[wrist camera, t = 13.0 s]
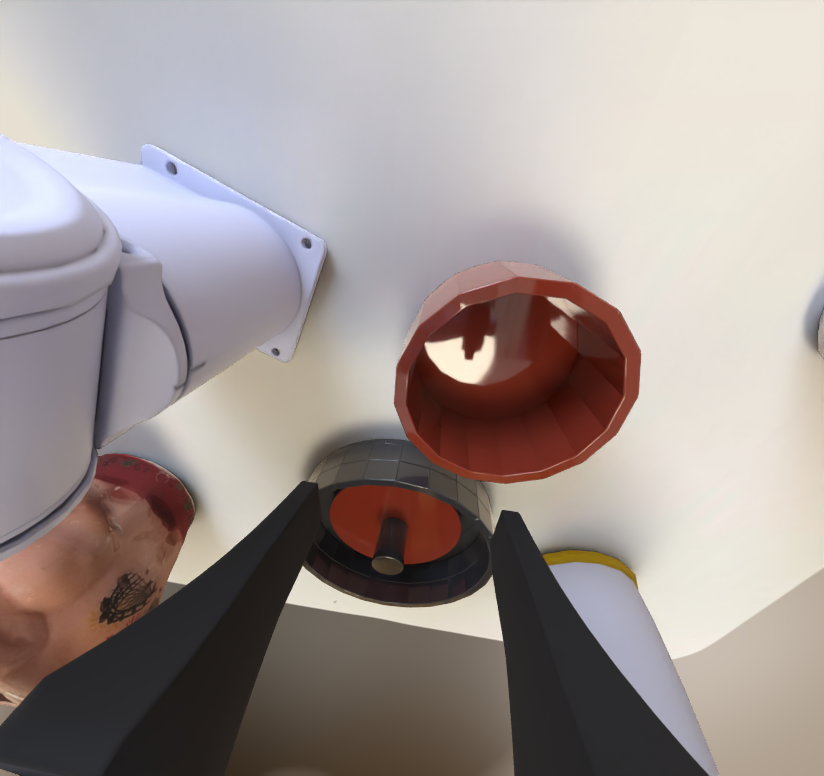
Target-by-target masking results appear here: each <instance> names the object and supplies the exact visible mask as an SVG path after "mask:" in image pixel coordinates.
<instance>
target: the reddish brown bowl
mask: <svg viewBox="0 0 824 776" xmlns="http://www.w3.org/2000/svg"><path fill="white" fill-rule="evenodd" d="M640 365H641V350H640V348H639V346H638V345H637V343H636V341H635V339H634V337H633V335H632V333H631V331H630V329H629V327H628V325H627V323H626V321H625V320H624V318H623V316H622V314H621V312H620V311H619V310H618V309H617V308H615V307H614V306H612V305H611V304H609V303H607V302H606V301H604V300H603V299H601V298H599V297H598V296H596V295H595V294H593V293H591V292H590V291H588V290H587V289H585V288H583V287H582V286H580V285H579V284H577V283H575V282H573V281H571V280H569V279H567V278H564V277H562V276H560V275H558V274H556V273H554V272H552V271H550V270H547V269H545V268H543V267H541V266H538V265H534V264H525V263H520V262H507V261H494V262H491V263H486V264H482V265H477V266H474V267H472V268H469V269H466V270H464V271H462V272H458V273H457V274H455V275H454V276H453V277H451V278H449V279H448V280H447V281H445V282H444V283H443V284H441V285H440V286H439V287H438V288H437V289H436V290H435V291H434V292H433V293H432V294H431V295H429V296H428V297H427V298H426V299H425V301H424V303H423V305H422V307H421V308H420V310H419V311H418V313H417V315H416V318H415V320H414V321H413V323H412V325H411V327H410V329H409V332H408V334H407V337H406V340H405V343H404V346H403V349H402V352H401V355H400V357H399V360H398V363H397V366H396V380H395V395H394V406H395V408H396V411H397V413H398V416H399V418H400V421H401V423H402V426H403V428H404V431H405V433H406V436H407V437H408V439H409V440H410V441H411V442H412V443H413V444H414V445H415V446H416V447H417V448H418V449H419V450H420V451H421V452H422V453H423V454H424V455H425V456H426V457H427V458H428V459H429V460H430V461H431V462H433V464H436V465H438V466H440V467H442V468H444V469H446V470H448V471H451V472H453V473H455V474H457V475H459V476H461V477H463V478H467V479H473V480H480V481H487V482H494V483H502V484H503V483H504V484H508V483H516V482H523V481H531V480H538V479H544V478H547V477H550V476H552V475H555V474H557V473H559V472H562V471H564V470H566V469H569V468H571V467H573V466H576V465H578V464H581V463H583V461H586V460H587V459H588V458H589V457H590V456H592V455H593V454H594V453H595V452H596V451H598V450H599V449H600V448H601V447H602V446H603V445H605V444H606V443H607V442H608V441H609V440H611V439H612V438H613V437H614V436H615V435H616V433H618V431H619V430H620V428H621V426H622V424H623V423H624V421H625V419H626V417H627V416H628V414H629V412H630V410H631V409H632V407H633V405H634V403H635V401H636V400H637V398H638V395H639V381H640Z"/></svg>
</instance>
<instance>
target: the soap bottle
mask: <svg viewBox="0 0 824 776" xmlns="http://www.w3.org/2000/svg"><path fill="white" fill-rule="evenodd" d="M542 556H543V558H544V560H545V561H546V563H547V565H548V566H549V568H550V570H551V571H552V573H553V575H554V576H555V578H556V580H557V581H558V583H559V585H560V586H561V588H562V589H563V591H564V593H565V594H566V596H567V597H568V599H569V600H570V602H571V603H572V605H573V606H574V608H575V609H576V611H577V612H578V614H579V615H580V617H581V618H582V620H583V621H584V623H585V624H586V626H587V627H588V628H589V630H590V631H591V633H592V634H593V635H594V637H595V638H596V639H597V641H598V642H599V644H600V645H601V646H602V648H603V649H604V650H605V652H606V653H607V654H608V656H609V657H610V658H611V660H612V661H613V662H614V664H615V665H616V666H617V667H618V669H619V670H620V671H621V673H622V674H623V675H624V676H625V677H626V679H627V680H628V681H629V682H630V684H631V685H632V686H633V687H634V689H635V690H636V691H637V692H638V693H639V695H640V696H641V697H642V698H643V700H644V701H645V702H646V703H647V705H648V706H649V707H650V708H651V709H652V711H653V712H654V713H655V714H656V716H657V717H658V718H659V719H660V720H661V721H662V722H663V724H664V725H665V726H666V727H667V728H668V729H669V731H670V732H671V733H672V734H673V735H674V736H675V738H676V739H677V740H678V741H679V742H680V743H681V745H682V746H683V747H684V748H685V749H686V750H687V751H688V752H689V754H690V755H691V756H692V757H693V758H694V759H695V760H696V761H697V762H698V764H699V765H700V766H701V767H702V768H703V769H704V770H705V771H706V772H707V773H708V775H709V776H719V773H718V770H717V768H716V765H715V762H714V760H713V757H712V755H711V752H710V750H709V747H708V745H707V742H706V740H705V738H704V735H703V733H702V730H701V728H700V725H699V723H698V720H697V718H696V715H695V713H694V711H693V708H692V706H691V703H690V701H689V698H688V696H687V693H686V691H685V688H684V686H683V684H682V682H681V679H680V677H679V675H678V673H677V671H676V668H675V666H674V664H673V662H672V660H671V657H670V655H669V653H668V651H667V649H666V646H665V644H664V642H663V640H662V638H661V635H660V633H659V631H658V629H657V627H656V624H655V622H654V620H653V618H652V616H651V615H650V613H649V611H648V609H647V607H646V605H645V603H644V601H643V599H642V597H641V595H640V593H639V591H638V586H637V581H636V575H635V574H634V573H633V572H632V571H631V570H630V569H629V568H628V567H626V566H625V565H624V564H623V563H622V562H621V561H619V560H618V559H616V558H613V557H610V556H607V555H604V554H601V553H598V552H591V551H577V550H568V551H561V552H554V553H547V554H544V555H542Z"/></svg>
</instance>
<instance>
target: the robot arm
mask: <svg viewBox="0 0 824 776" xmlns="http://www.w3.org/2000/svg"><path fill="white" fill-rule="evenodd" d="M173 165H175V166H176V168H177V174H175V172H174V171H173ZM307 238H308V239H309V240H310V241H311V243H312V247H311V248H310V249H309V248H308V247H306V245H305V240H306V239H307ZM326 254H327V245H326V244H325V242H324V241H323V240H322V239H320V238H318V237H317V236H315V235H313V234H311V233H310V232H308V231H306V230H304V229H303V228H301V227H299V226H297V225H295V224H294V223H292V222H290V221H288V220H287V219H285V218H283V217H281V216H279V215H278V214H276V213H274V212H272V211H271V210H269V209H267V208H265V207H263V206H262V205H260V204H258V203H256V202H255V201H253V200H251V199H249V198H247V197H246V196H244V195H242V194H240V193H239V192H237V191H235V190H233V189H231V188H230V187H228V186H226V185H224V184H223V183H221V182H219V181H217V180H215V179H214V178H212V177H210V176H208V175H207V174H205V173H203V172H201V171H199V170H198V169H196V168H194V167H192V166H191V165H189V164H187V163H185V162H184V161H182V160H180V159H178V158H176V157H175V156H173V155H171V154H169V153H168V152H166V151H164V150H162V149H160V148H159V147H157V146H154V145H150V144H145V145H143V147H142V149H141V165H136V164H131V163H126V162H120V161H115V160H110V159H104V158H99V157H94V156H88V155H83V154H77V153H72V152H67V151H61V150H56V149H51V148H45V147H40V146H34V145H29V144H24V143H18V142H14V141H12V140H10V139H9V138H7V137H5V136H4V135H2V134H0V562H1V561H3V560H5V559H7V558H8V557H10V556H12V555H14V554H16V553H18V552H19V551H21V550H23V549H25V548H26V547H28V546H29V545H31V544H32V543H34V542H35V541H37V540H38V539H40V538H41V537H43V536H44V535H46V534H47V533H48V532H49V531H51V530H52V529H53V528H54V527H55V526H57V525H58V524H59V523H60V522H61V521H63V520H64V519H65V518H66V517H67V516H68V515H69V514H70V513H71V512H72V510H73V509H74V508H75V507H76V506H77V505H78V504H79V503H80V502H81V500H82V499H83V497H84V496H85V494H86V493H87V491H88V490H89V488H90V486H91V484H92V481H93V479H94V476H95V473H96V465H97V457H98V454H97V451H96V449H100V448H102V447H103V446H105V445H107V444H108V443H110V442H111V441H113V440H114V439H116V438H117V437H119V436H120V435H122V434H123V433H125V432H126V431H128V430H129V429H131V427H132V426H134V425H136V424H139V423H141V422H143V421H146V420H148V419H150V418H152V417H154V416H156V415H157V414H159V413H160V412H162V411H163V410H165V409H166V408H168V407H169V406H170V405H172V404H174V403H175V402H177V401H178V400H180V399H181V398H183V397H184V396H186V395H187V394H189V393H190V392H192V391H193V390H195V389H196V388H198V387H199V386H201V385H203V384H204V383H206V382H207V381H209V380H210V379H212V378H213V377H215V376H216V375H218V374H219V373H221V372H222V371H224V370H225V369H227V368H228V367H230V366H231V365H233V364H234V363H236V362H237V361H239V360H240V359H242V358H243V357H245V356H246V355H248V354H249V353H251V352H252V351H254V350H255V349H257V350H259V351H261V352H263V353H265V354H267V355H269V356H271V357H273V358H275V359H277V360H279V361H282V362H289V361H290V360H291V359H292V358H293V355H294V352H295V349H296V346H297V343H298V340H299V337H300V334H301V331H302V328H303V325H304V322H305V318H306V315H307V312H308V309H309V306H310V303H311V300H312V297H313V294H314V291H315V288H316V285H317V282H318V279H319V276H320V273H321V270H322V266H323V263H324V260H325V257H326ZM275 348H276V349H278V350H279V352H280V353H277V352H276V351H275ZM321 518H322V513H321V505H320V496H319V487H318V483H314V482H307V481H302V482H301V483H300V484H299V485H298V486H297V487H296V488H295V489H294V490H293V491H292V492H291V493H290V494H289V495H288V496H287V497H286V498H285V499H284V500H283V501H282V502H281V503H280V504H279V505H278V506H277V507H276V508H275V509H274V510H273V511H272V512H271V513H270V514H269V515H268V516H267V517H266V518H265V519H264V520H263V521H262V522H261V523H260V524H259V525H258V526H257V527H256V528H255V529H254V530H253V531H251V532H250V533H249V534H248V535H247V536H246V537H245V538H244V539H243V540H241V541H240V542H239V543H238V544H237V545H236V546H235V547H234V548H232V549H231V550H230V551H229V552H228V553H227V554H225V555H224V556H223V557H222V558H221V559H219V560H218V561H217V562H216V563H215V564H213V565H212V566H211V567H210V568H208V569H207V570H206V571H204V572H203V573H202V574H201V575H199V576H198V577H197V578H195V579H194V580H193V581H191V582H190V583H189V584H187V585H186V586H185V587H183V588H182V589H181V590H179V591H178V592H177V593H175V594H174V595H173V596H171V597H170V598H168V599H167V600H165V601H164V602H163V603H161V604H160V605H158V606H157V607H155V608H154V609H152V610H151V611H149V612H148V613H146V614H145V615H143V616H142V617H140V618H139V619H137V620H136V621H134V622H133V623H131V624H130V625H128V626H127V627H125V628H124V629H122V630H121V631H119V632H118V633H116V634H115V635H113V636H112V637H110V638H108V639H107V640H105V641H104V642H102V643H100V644H99V645H97V646H95V647H94V648H92V649H90V650H89V651H87V652H85V653H84V654H82V655H80V656H79V657H77V658H76V659H74V660H72V661H71V662H69V663H67V664H66V665H64V666H62V667H61V668H59V669H57V670H56V671H54V672H52V673H50V674H49V675H47V676H46V677H44V678H43V679H42V680H41V681H40V682H39V684H38V685H37V686H36V687H35V688H34V689H33V690H32V691H31V692H30V693H29V694H28V695H27V696H26V697H25V698H24V700H23V701H22V702H21V703H20V704H19V705H18V706H17V708H16V709H15V710H14V711H13V712H12V713H11V714H10V715H9V717H8V718H7V719H6V720H5V721H4V722H3V724H2V725H1V726H0V769H3V770H6V771H9V772H12V773H15V774H18V775H20V776H224V775H225V772H226V769H227V766H228V763H229V759H230V756H231V753H232V750H233V747H234V744H235V741H236V738H237V734H238V731H239V728H240V725H241V722H242V719H243V716H244V713H245V710H246V708H247V704H248V702H249V699H250V695H251V693H252V689H253V687H254V684H255V681H256V678H257V676H258V672H259V670H260V667H261V664H262V662H263V658H264V656H265V653H266V650H267V648H268V645H269V642H270V640H271V637H272V634H273V631H274V629H275V626H276V623H277V621H278V618H279V616H280V613H281V611H282V609H283V607H284V604H285V602H286V600H287V598H288V596H289V594H290V591H291V589H292V587H293V585H294V583H295V581H296V579H297V576H298V574H299V572H300V570H301V568H302V566H303V564H304V561H305V559H306V557H307V555H308V553H309V551H310V548H311V546H312V544H313V541H314V538H315V535H316V533H317V530H318V527H319V524H320V521H321ZM490 545H491V562H492V574H493V580H494V586H495V593H496V599H497V605H498V611H499V617H500V623H501V629H502V635H503V641H504V647H505V654H506V664H507V675H508V687H509V699H510V713H511V725H512V741H513V758H514V774H515V776H709V775H708V773H707V772H706V771H705V770H704V769H703V768H702V767H701V766H700V765H699V764H698V762H697V761H696V760H695V759H694V758H693V757H692V756H691V755H690V754H689V752H688V751H687V750H686V749H685V748H684V747H683V746H682V745H681V743H680V742H679V741H678V740H677V739H676V738H675V736H674V735H673V734H672V733H671V732H670V731H669V729H668V728H667V727H666V726H665V725H664V724H663V722H662V721H661V720H660V719H659V718H658V717H657V716H656V714H655V713H654V712H653V711H652V709H651V708H650V707H649V706H648V705H647V703H646V702H645V701H644V700H643V698H642V697H641V696H640V695H639V693H638V692H637V691H636V690H635V689H634V687H633V686H632V685H631V684H630V682H629V681H628V680H627V679H626V677H625V676H624V675H623V674H622V673H621V671H620V670H619V669H618V667H617V666H616V665H615V664H614V662H613V661H612V660H611V658H610V657H609V656H608V654H607V653H606V652H605V650H604V649H603V648H602V646H601V645H600V644H599V642H598V641H597V639H596V638H595V637H594V635H593V634H592V633H591V631H590V630H589V628H588V627H587V626H586V624H585V623H584V621H583V620H582V618H581V617H580V615H579V614H578V612H577V611H576V609H575V608H574V606H573V605H572V603H571V602H570V600H569V599H568V597H567V596H566V594H565V593H564V591H563V589H562V588H561V586H560V585H559V583H558V581H557V580H556V578H555V576H554V575H553V573H552V571H551V570H550V568H549V566H548V565H547V563H546V561H545V560H544V558H543V556H542V554H541V553H540V551H539V549H538V547H537V545H536V544H535V542H534V540H533V538H532V536H531V534H530V533H529V531H528V529H527V527H526V525H525V523H524V521H523V519H522V517H521V515H520V514H519V513H518V512H513V511H506V510H502V511H501V514H500V517H499V520H498V522H497V525H496V528H495V531H494V534H493V536H492V539H491V542H490Z"/></svg>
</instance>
